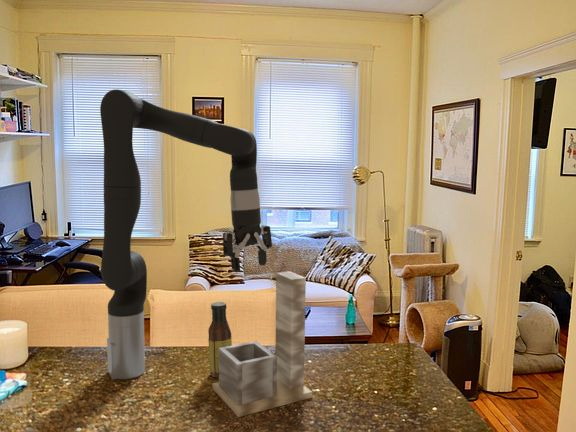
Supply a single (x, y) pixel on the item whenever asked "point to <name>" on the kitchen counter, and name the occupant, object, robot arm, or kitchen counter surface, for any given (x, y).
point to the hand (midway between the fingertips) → (249, 268)
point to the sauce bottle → (218, 336)
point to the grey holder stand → (269, 358)
